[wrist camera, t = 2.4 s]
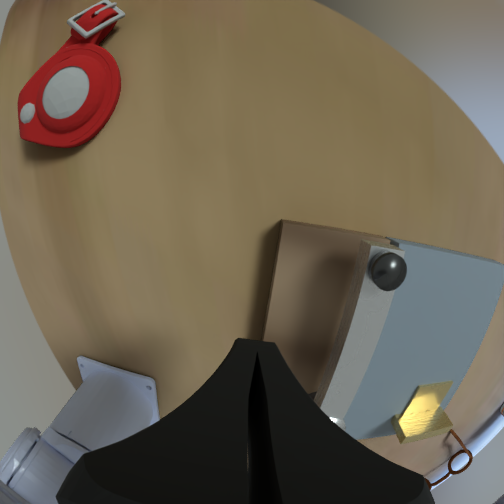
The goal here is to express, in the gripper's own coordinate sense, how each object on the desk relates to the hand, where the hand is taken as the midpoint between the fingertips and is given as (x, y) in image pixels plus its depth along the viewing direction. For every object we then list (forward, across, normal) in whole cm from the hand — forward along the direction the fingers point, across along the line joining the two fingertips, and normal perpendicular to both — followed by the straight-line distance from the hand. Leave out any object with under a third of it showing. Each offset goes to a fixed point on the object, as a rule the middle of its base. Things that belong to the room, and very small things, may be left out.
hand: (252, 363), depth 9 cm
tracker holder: (+9, +15, -13) cm, 22 cm away
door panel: (+9, -15, +5) cm, 18 cm away
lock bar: (+6, -6, +3) cm, 9 cm away
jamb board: (+9, -4, +5) cm, 11 cm away
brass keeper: (+7, -17, +9) cm, 21 cm away
